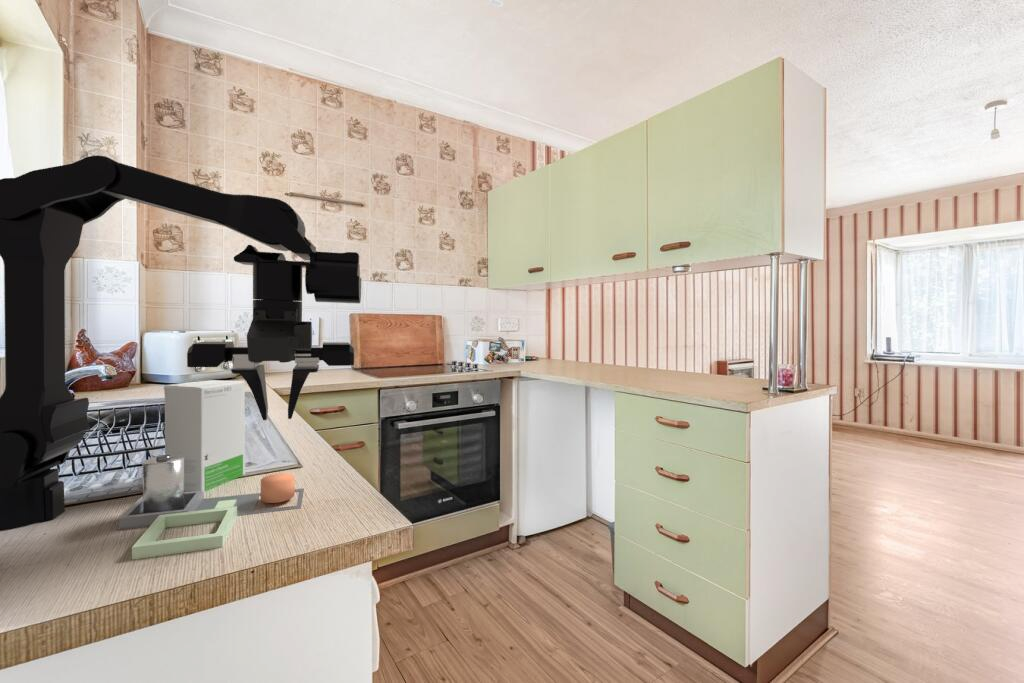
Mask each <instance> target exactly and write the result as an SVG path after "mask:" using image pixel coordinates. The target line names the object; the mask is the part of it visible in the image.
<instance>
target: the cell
mask: <svg viewBox="0 0 1024 683" xmlns="http://www.w3.org/2000/svg"><path fill="white" fill-rule="evenodd" d="M142 496H143V514H147V513H156V512H165V511H174V510H183V509H184V457H183V456H179V455H165V454H161V455H157V456H156V457H152V458H149V459H146V460H143V461H142Z"/></svg>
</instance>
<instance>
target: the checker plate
mask: <svg viewBox="0 0 1024 683" xmlns="http://www.w3.org/2000/svg"><path fill="white" fill-rule="evenodd" d="M304 491H305V488H294V493H299V494H298V498H297V503H296V504H297V505H291V506H290V505H289V506H282V507H272V508H263V509H256V510H255V507H256V506H257V503H258V500H259V499H260V497H261V492H256V493H246V494H236V495H235V494H234V495H229V496H227V495H226V496H218V497H217V496H215V497H207V498H204V492H203V491H192V492H184V509H183V510H174V511H165V512H156V513H147V514H143V495H142V496H141V497H139V498H138V499H137V500H136V501H135V502H134V503H133V504H132V505H131V506H130V507H129V508H128V509H127V510H126V511H125V512H124V513H122V515H120V516H119V517H118V527H117V528H116V529H115V530H116V531H122V530H129V529H137V528H149V527H150V526H151V524H152V523H153V522H154V521H155V520H156V519H157V517H158V516H159V515H164V514H173V513H182V512H191V511H200V510H209V509H218V508H227V507H236V506H237V517H240V516H249V515H258V514H265V513H266V514H267V513H273V512H283V511H289V510H301V509H302V504H303V498H304V497H303V496H304Z"/></svg>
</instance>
